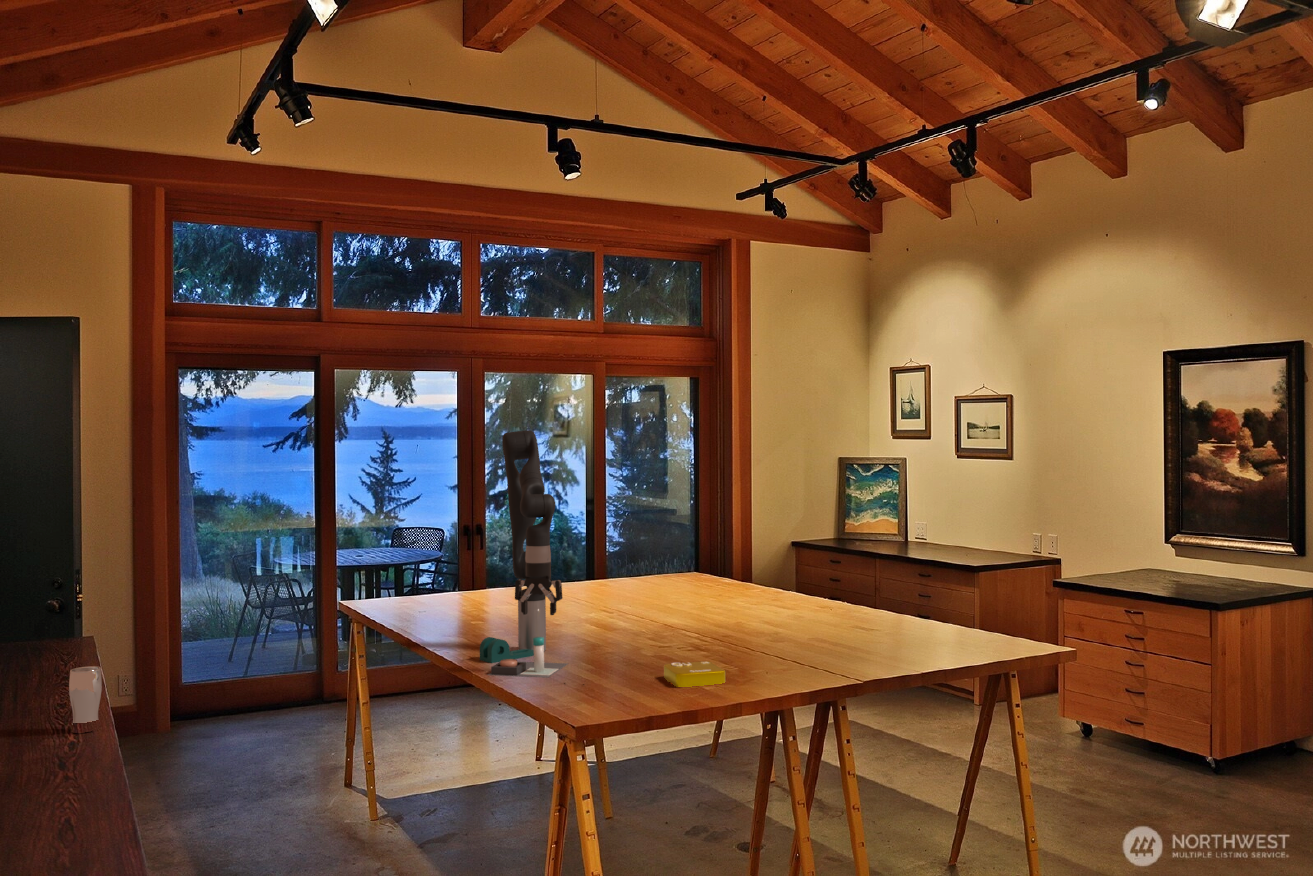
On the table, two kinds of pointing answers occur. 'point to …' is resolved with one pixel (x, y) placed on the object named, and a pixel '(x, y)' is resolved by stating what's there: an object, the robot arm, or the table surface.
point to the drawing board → (526, 670)
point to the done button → (508, 663)
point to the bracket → (500, 651)
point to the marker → (538, 654)
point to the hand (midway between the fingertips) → (538, 614)
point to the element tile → (694, 674)
